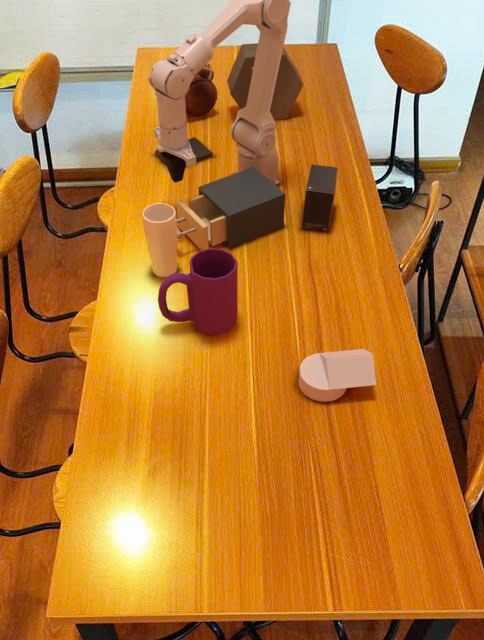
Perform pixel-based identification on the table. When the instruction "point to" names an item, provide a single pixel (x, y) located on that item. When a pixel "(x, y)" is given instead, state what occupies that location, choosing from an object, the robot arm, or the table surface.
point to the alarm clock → (201, 93)
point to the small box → (319, 197)
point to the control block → (197, 149)
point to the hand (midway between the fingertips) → (177, 180)
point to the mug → (206, 292)
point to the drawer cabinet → (247, 204)
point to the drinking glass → (161, 237)
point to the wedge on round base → (335, 373)
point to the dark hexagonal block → (284, 88)
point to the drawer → (201, 222)
